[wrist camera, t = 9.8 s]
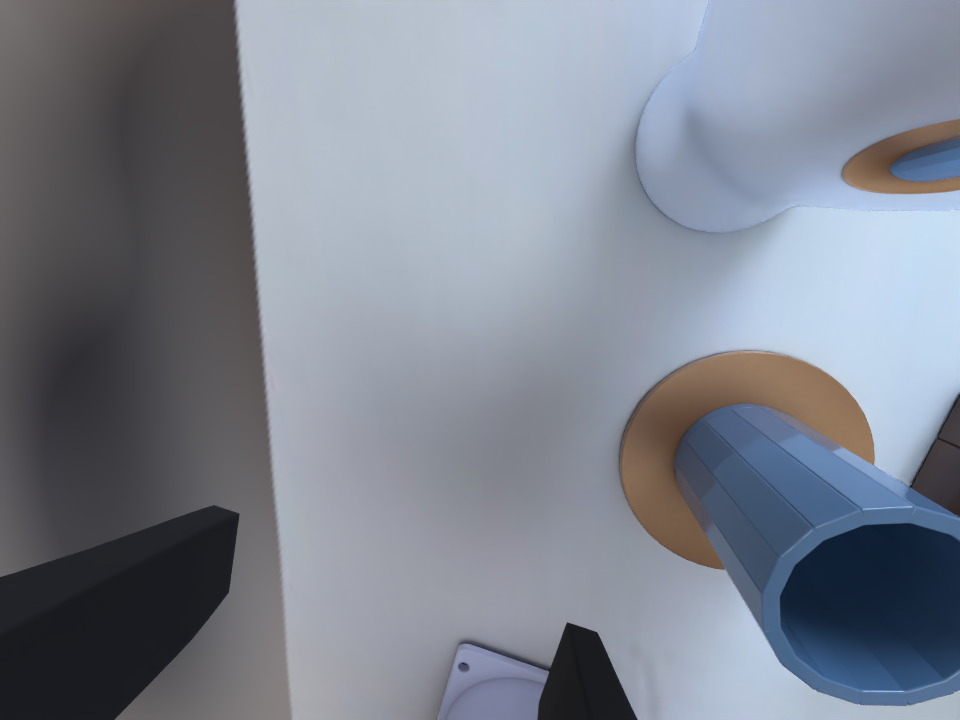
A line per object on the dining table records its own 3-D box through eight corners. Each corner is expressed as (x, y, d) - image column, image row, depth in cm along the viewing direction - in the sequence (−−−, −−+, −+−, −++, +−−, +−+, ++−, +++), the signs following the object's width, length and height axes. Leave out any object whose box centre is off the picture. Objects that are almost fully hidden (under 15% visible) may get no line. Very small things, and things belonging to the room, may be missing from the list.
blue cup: (782, 541, 17) (950, 736, 10) (655, 502, 18) (728, 662, 11) (837, 424, 16) (1071, 551, 9) (699, 387, 17) (816, 478, 9)
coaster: (808, 593, 18) (814, 600, 18) (591, 526, 19) (592, 531, 18) (911, 388, 16) (921, 391, 16) (662, 322, 17) (664, 324, 16)
